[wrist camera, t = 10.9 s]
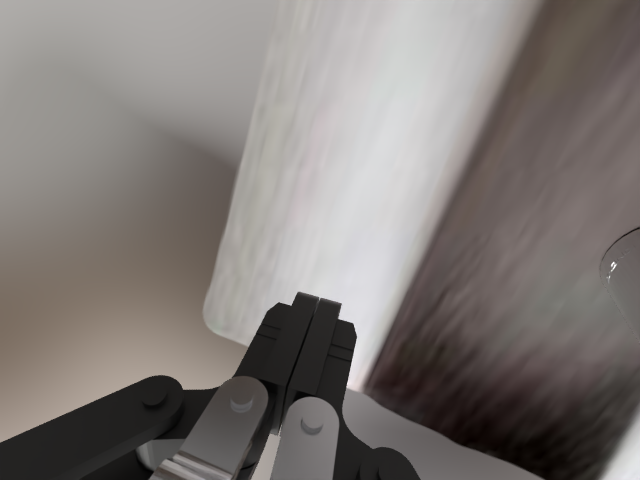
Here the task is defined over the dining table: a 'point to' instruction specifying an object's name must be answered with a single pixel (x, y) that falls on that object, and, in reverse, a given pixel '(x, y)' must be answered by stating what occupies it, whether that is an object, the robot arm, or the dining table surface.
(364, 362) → the dining table surface
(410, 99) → the dining table surface
